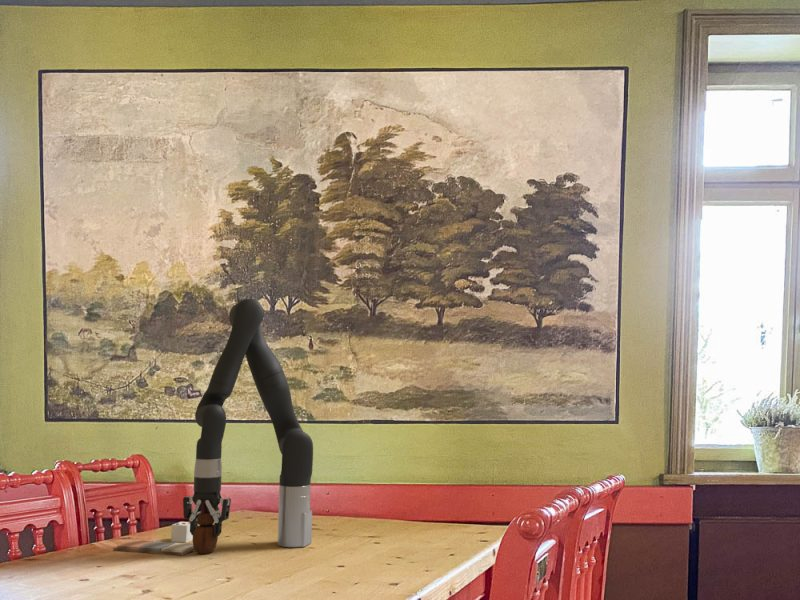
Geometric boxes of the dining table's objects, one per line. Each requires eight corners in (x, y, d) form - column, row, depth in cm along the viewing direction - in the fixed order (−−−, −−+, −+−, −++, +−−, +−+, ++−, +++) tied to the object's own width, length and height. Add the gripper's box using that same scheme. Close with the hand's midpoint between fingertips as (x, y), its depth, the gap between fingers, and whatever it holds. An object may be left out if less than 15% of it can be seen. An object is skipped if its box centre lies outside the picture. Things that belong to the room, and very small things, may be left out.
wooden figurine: (201, 556, 187) (203, 500, 189) (188, 553, 190) (190, 498, 192) (221, 551, 192) (223, 497, 194) (208, 548, 196) (210, 495, 197)
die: (194, 539, 208) (195, 521, 208) (186, 543, 203) (186, 525, 204) (180, 538, 209) (181, 521, 210) (171, 542, 204) (171, 524, 205)
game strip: (200, 548, 196) (200, 543, 197) (183, 555, 188) (183, 551, 188) (133, 543, 202) (133, 539, 202) (113, 550, 193) (113, 546, 193)
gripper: (237, 474, 196) (234, 534, 194) (192, 472, 199) (189, 531, 197) (224, 477, 189) (222, 540, 187) (178, 475, 192) (175, 536, 190)
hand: (205, 535), depth 192 cm, fingers closed on wooden figurine, 6 cm apart
